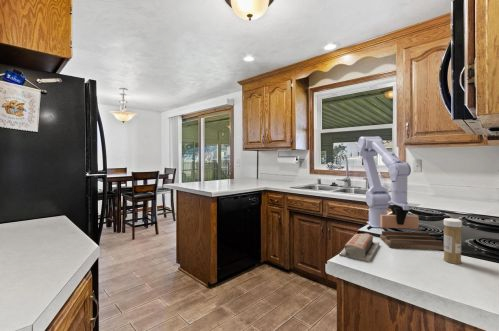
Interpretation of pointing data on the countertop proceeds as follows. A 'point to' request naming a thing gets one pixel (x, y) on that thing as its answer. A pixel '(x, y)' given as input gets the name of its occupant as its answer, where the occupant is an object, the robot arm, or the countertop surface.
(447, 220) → the sprinkles bottle
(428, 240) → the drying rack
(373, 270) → the countertop surface
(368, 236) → the packaged product
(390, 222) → the tile strip
